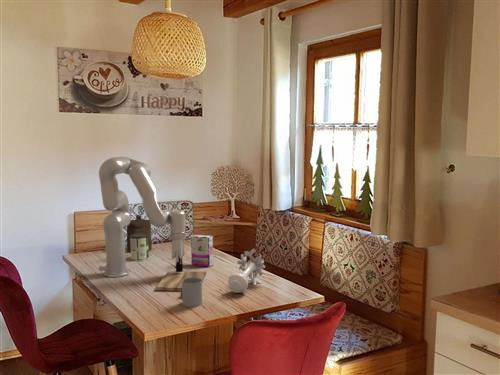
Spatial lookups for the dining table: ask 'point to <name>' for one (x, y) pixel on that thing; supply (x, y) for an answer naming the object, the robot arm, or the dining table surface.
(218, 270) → the dining table surface
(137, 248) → the coffee can
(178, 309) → the dining table surface
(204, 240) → the candy bar box
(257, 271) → the flower vase
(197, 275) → the laid board
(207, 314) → the dining table surface
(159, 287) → the plank
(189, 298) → the cup
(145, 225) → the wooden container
